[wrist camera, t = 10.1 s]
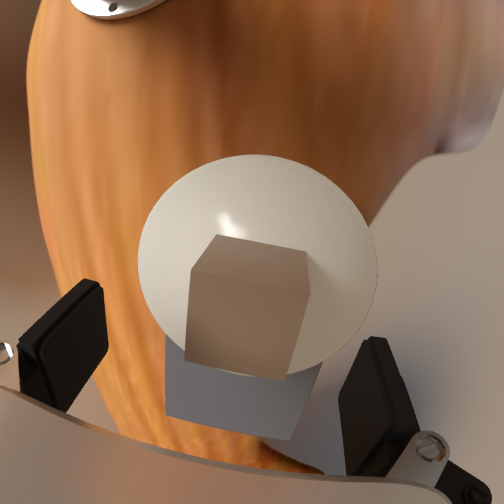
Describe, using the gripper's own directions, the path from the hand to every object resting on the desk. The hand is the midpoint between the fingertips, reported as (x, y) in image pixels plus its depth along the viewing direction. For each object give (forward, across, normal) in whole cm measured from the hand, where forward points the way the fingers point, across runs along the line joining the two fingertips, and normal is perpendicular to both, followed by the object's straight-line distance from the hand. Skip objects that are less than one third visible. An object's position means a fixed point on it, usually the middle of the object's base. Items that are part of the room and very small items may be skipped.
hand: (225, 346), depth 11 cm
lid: (+7, 0, +1) cm, 7 cm away
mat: (+13, -1, +15) cm, 20 cm away
